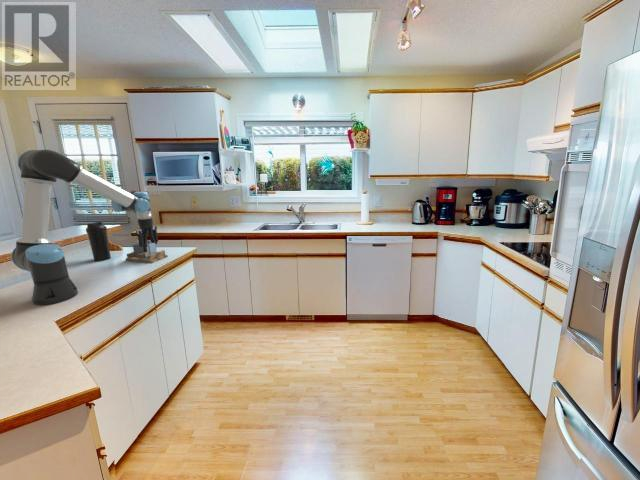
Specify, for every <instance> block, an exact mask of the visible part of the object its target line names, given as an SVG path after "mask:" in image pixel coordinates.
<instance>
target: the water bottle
mask: <svg viewBox="0 0 640 480" xmlns="http://www.w3.org/2000/svg"><path fill="white" fill-rule="evenodd" d="M103 223H104V222H103V221H95V222H93V223H87V224H86V225H87V227H86V229H85V232H86V234H87V238H88V241H89V244H90V249H91V253H92V258H93V261H94V262H103V261H107V260H111V258H112V256H111V249H110V245H109V239H108V237H109V236H108V231H107V230H108V228H107V226H106V225H105V224H103Z"/></svg>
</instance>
